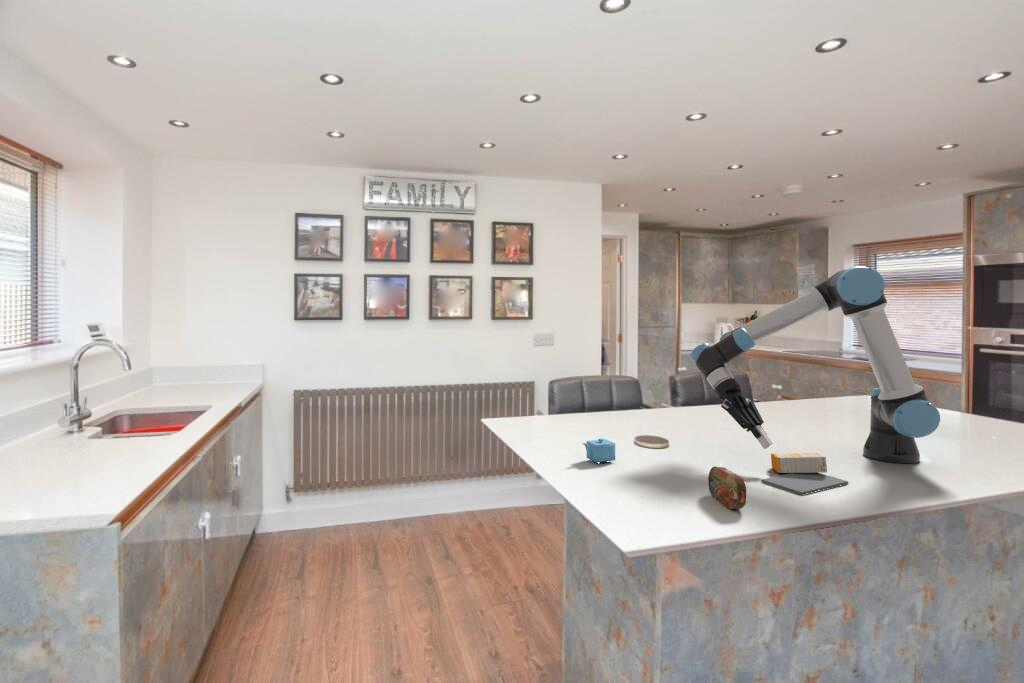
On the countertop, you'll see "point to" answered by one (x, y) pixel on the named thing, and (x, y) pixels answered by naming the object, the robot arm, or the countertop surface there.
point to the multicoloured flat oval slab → (727, 487)
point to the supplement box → (799, 462)
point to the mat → (804, 482)
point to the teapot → (600, 450)
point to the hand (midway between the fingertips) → (768, 446)
